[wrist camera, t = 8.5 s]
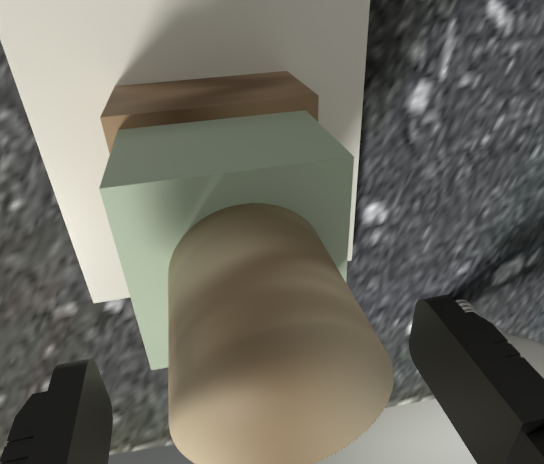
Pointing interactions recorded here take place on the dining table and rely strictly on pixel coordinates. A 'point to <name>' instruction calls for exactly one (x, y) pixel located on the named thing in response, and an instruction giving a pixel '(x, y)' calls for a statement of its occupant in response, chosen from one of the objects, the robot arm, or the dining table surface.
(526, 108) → the dining table surface
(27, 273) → the dining table surface
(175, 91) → the walnut block
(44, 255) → the dining table surface
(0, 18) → the base board
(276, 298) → the birch cylinder
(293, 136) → the sage block
